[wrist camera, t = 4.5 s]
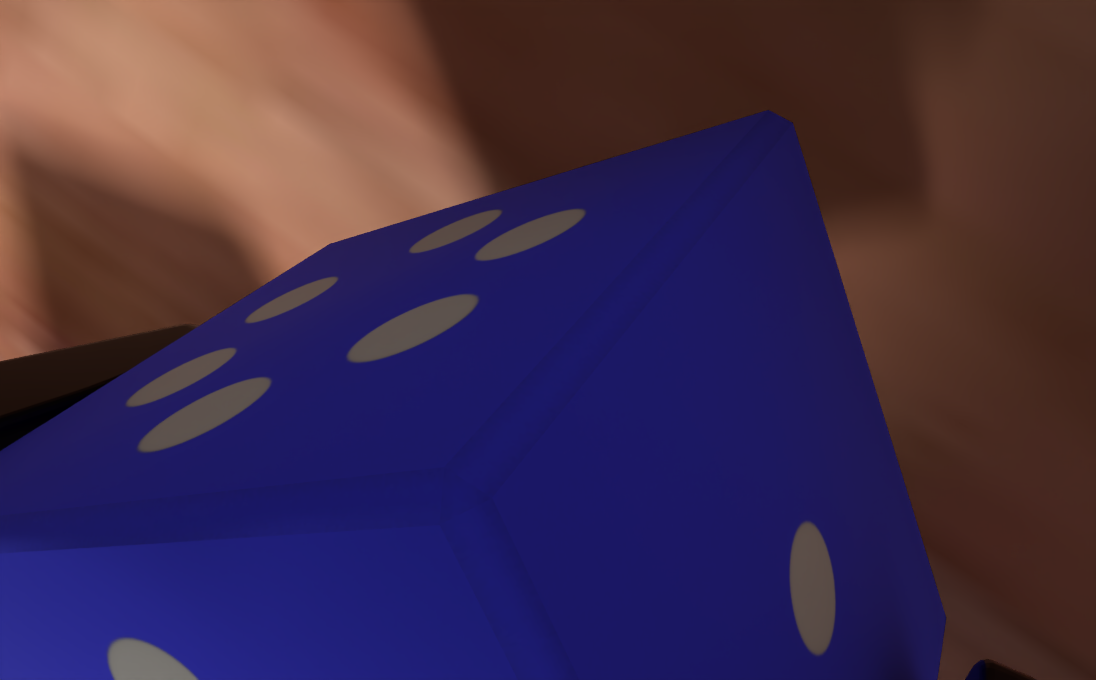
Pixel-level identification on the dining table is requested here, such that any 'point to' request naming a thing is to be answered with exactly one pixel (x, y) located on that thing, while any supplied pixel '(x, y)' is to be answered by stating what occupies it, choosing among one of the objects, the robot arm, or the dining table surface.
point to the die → (496, 456)
